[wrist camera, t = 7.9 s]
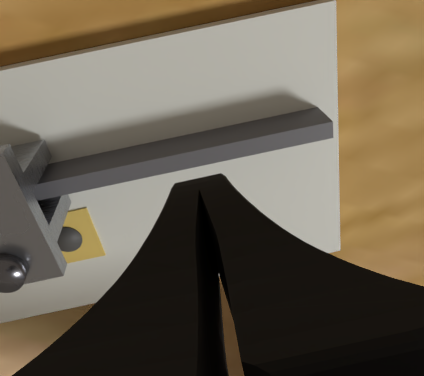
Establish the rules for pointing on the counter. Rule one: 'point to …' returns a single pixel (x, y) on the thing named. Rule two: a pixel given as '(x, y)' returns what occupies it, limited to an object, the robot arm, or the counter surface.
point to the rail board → (178, 136)
